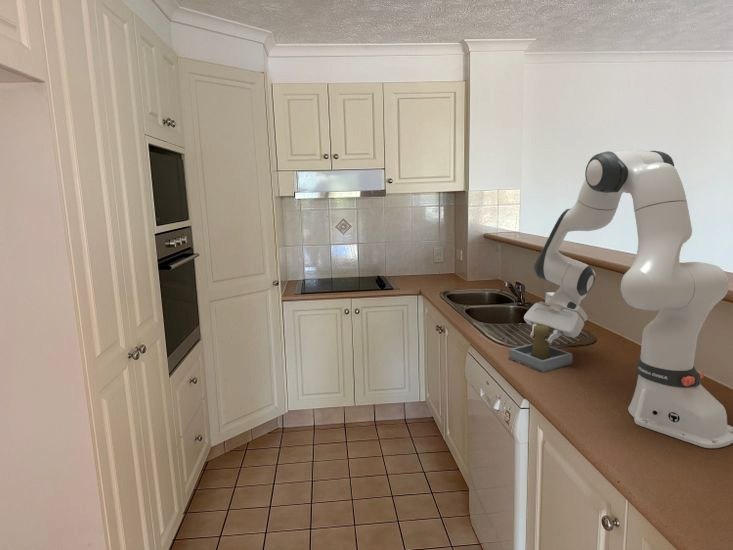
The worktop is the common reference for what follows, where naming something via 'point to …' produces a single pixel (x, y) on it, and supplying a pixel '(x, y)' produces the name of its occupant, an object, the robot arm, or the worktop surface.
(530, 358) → the tray
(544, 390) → the worktop surface
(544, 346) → the cork
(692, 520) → the worktop surface
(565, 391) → the worktop surface
